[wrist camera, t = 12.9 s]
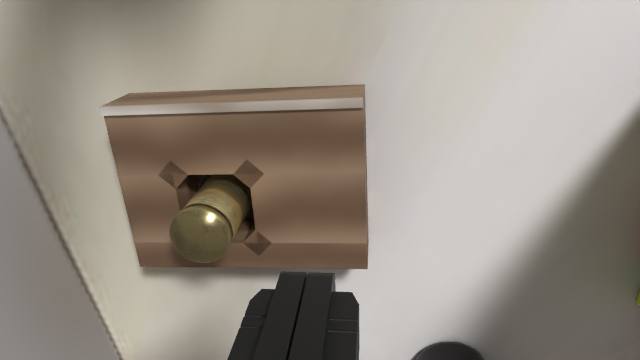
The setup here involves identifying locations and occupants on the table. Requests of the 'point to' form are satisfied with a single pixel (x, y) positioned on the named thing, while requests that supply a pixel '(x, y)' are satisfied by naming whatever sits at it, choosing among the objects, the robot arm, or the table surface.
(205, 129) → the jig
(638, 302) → the snack box
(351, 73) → the table surface
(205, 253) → the brass cylinder plug
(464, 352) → the supplement bottle
